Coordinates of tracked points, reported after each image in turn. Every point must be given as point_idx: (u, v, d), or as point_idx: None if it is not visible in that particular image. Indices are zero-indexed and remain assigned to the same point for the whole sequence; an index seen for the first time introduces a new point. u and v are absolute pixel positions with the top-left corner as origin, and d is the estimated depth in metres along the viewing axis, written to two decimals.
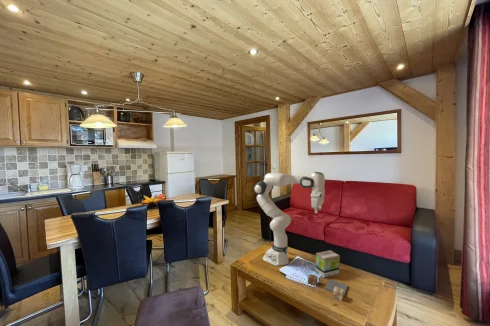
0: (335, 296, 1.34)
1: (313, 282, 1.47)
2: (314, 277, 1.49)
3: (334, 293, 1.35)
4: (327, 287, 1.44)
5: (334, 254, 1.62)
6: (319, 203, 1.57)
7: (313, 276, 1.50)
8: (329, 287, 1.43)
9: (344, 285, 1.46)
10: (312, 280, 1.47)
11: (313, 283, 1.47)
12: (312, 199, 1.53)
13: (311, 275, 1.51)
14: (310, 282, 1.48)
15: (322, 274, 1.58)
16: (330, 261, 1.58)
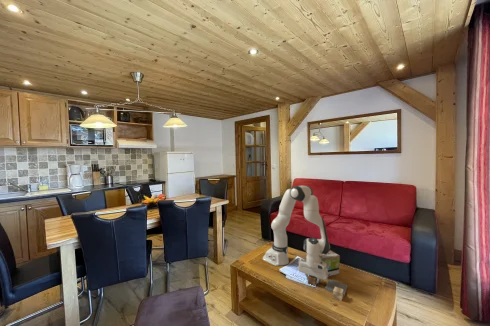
0: (335, 296, 1.34)
1: (313, 282, 1.47)
2: (314, 277, 1.49)
3: (334, 293, 1.35)
4: (327, 287, 1.44)
5: (334, 254, 1.62)
6: None
7: (313, 276, 1.50)
8: (329, 287, 1.43)
9: (344, 285, 1.46)
10: (312, 280, 1.47)
11: (313, 283, 1.47)
12: (325, 271, 1.43)
13: None
14: (310, 282, 1.48)
15: None
16: (330, 261, 1.58)
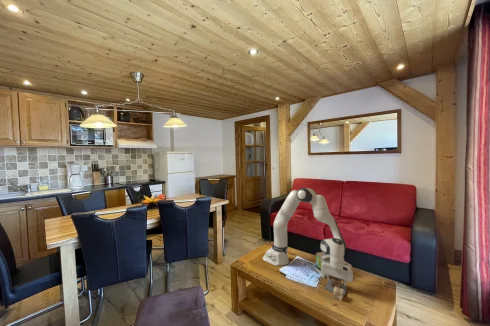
0: (335, 296, 1.34)
1: (337, 285, 1.42)
2: (338, 280, 1.43)
3: (334, 293, 1.35)
4: (327, 287, 1.44)
5: None
6: None
7: (337, 279, 1.45)
8: (329, 287, 1.43)
9: None
10: (336, 283, 1.42)
11: (337, 286, 1.42)
12: (351, 273, 1.38)
13: (335, 278, 1.46)
14: (334, 285, 1.43)
15: (322, 274, 1.58)
16: None
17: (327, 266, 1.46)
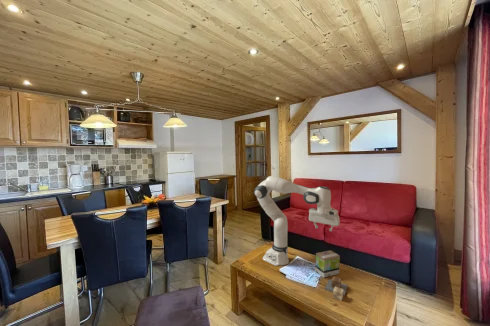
0: (335, 296, 1.34)
1: (337, 285, 1.42)
2: (338, 280, 1.43)
3: (334, 293, 1.35)
4: (327, 287, 1.44)
5: (334, 254, 1.62)
6: None
7: (337, 279, 1.45)
8: (329, 287, 1.43)
9: (344, 285, 1.46)
10: (336, 283, 1.42)
11: (337, 286, 1.42)
12: (337, 217, 1.40)
13: (335, 278, 1.46)
14: (334, 285, 1.43)
15: (322, 274, 1.58)
16: (330, 261, 1.58)
17: (314, 213, 1.48)
